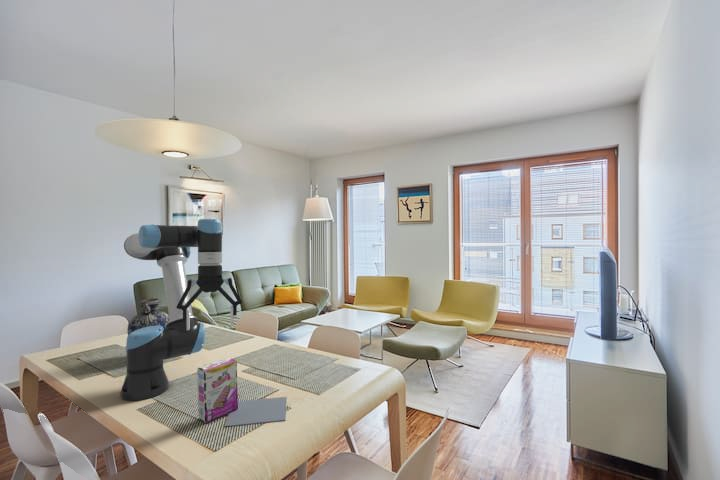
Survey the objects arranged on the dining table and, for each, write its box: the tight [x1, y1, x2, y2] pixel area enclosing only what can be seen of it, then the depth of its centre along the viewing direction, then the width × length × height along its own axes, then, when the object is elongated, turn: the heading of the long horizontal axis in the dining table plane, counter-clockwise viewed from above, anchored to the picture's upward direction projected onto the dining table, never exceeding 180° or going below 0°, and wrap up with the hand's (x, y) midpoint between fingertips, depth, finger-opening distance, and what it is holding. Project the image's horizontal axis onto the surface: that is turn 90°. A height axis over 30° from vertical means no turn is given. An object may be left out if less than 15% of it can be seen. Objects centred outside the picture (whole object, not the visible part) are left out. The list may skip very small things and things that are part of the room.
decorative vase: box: [126, 297, 169, 336], centre depth 167 cm, size 21×19×28 cm
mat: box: [224, 396, 287, 428], centre depth 113 cm, size 18×16×1 cm
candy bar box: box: [197, 357, 239, 424], centre depth 110 cm, size 11×5×16 cm, turn 141°
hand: (210, 327), depth 116 cm, fingers open, 13 cm apart
